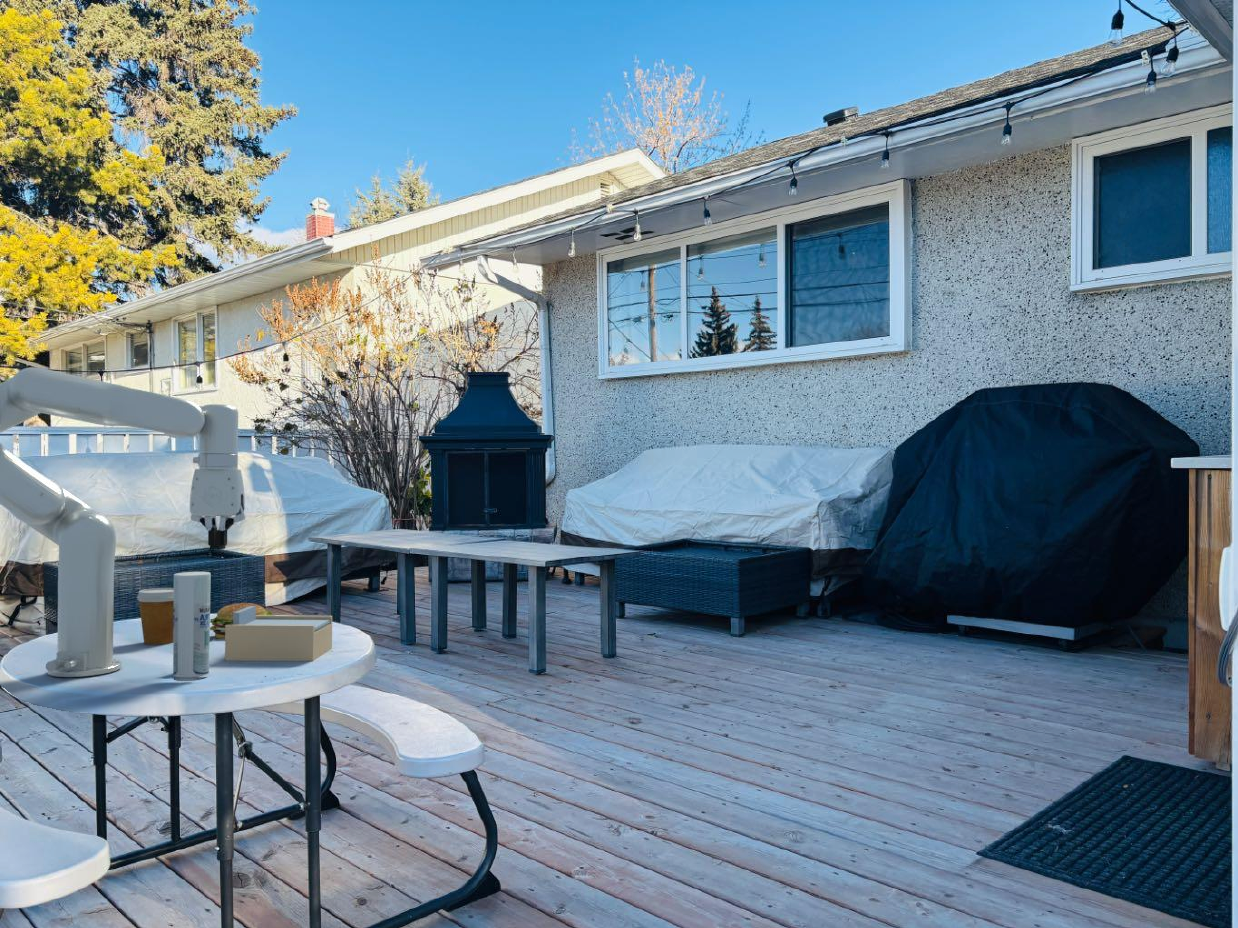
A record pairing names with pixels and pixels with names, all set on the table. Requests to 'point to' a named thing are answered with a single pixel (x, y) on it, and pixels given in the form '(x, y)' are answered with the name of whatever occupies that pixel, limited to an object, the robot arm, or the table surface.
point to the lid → (249, 618)
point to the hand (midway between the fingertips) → (217, 548)
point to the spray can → (191, 625)
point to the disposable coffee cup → (157, 615)
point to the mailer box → (278, 640)
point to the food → (231, 617)
